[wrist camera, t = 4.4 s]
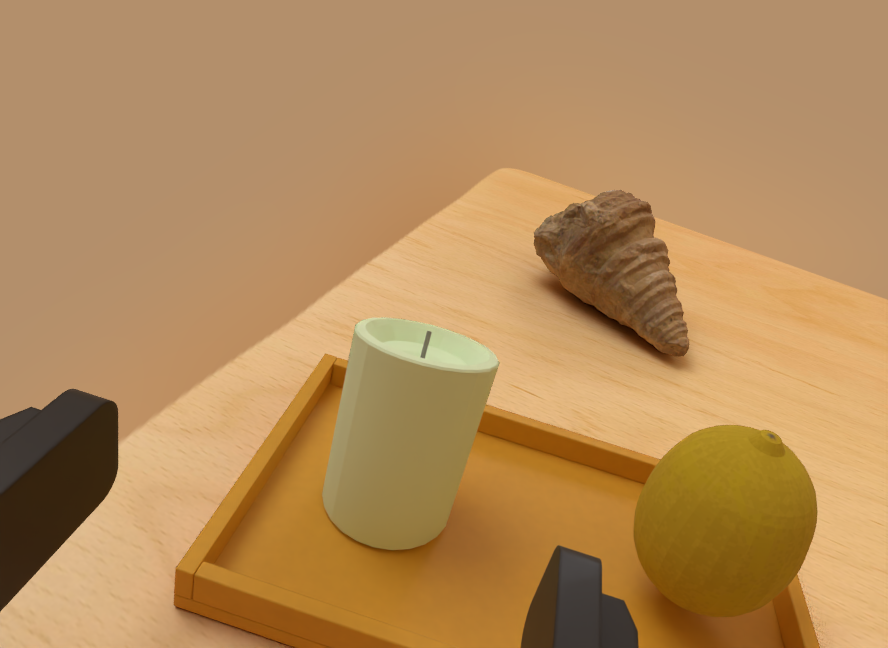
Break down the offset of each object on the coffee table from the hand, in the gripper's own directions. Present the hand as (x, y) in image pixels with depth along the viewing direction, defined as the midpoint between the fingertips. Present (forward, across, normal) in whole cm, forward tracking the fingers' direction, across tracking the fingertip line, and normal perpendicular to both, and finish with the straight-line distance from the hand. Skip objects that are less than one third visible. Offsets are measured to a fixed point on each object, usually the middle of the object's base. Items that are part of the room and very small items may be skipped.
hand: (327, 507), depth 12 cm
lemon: (+11, +11, -11) cm, 19 cm away
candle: (+11, 0, -11) cm, 16 cm away
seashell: (+36, +8, -11) cm, 39 cm away
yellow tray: (+11, +5, -11) cm, 17 cm away
